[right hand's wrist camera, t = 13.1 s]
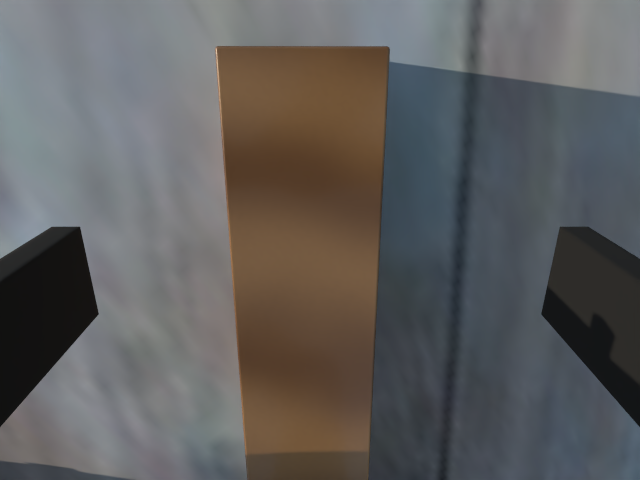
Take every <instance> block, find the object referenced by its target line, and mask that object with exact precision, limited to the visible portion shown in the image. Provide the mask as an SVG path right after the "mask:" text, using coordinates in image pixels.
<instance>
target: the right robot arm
mask: <svg viewBox="0 0 640 480" xmlns="http://www.w3.org/2000/svg"><path fill="white" fill-rule="evenodd" d="M97 315H98V309H97V304H96V300H95V295H94V290H93V286H92V281H91V276H90V272H89V267H88V262H87V257H86V253H85V248H84V243H83V239H82V234H81V229H80V227H51V228H49V229H48V230H46V231H44V232H43V233H41V234H40V235H38V236H36V237H35V238H33V239H32V240H30V241H28V242H27V243H25V244H23V245H22V246H20V247H19V248H17V249H15V250H14V251H12V252H11V253H9V254H7V255H6V256H4V257H3V258H1V259H0V427H1V425H2V424H3V423H4V422H5V421H6V420H7V419H8V417H9V416H10V415H11V414H12V413H13V412H14V411H15V409H16V408H17V407H18V406H19V405H20V404H21V403H22V401H23V400H24V399H25V398H26V397H27V396H28V395H29V393H30V392H31V391H32V390H33V389H34V388H35V387H36V385H37V384H38V383H39V382H40V381H41V380H42V378H43V377H44V376H45V375H46V374H47V373H48V372H49V370H50V369H51V368H52V367H53V366H54V365H55V364H56V362H57V361H58V360H59V359H60V358H61V357H62V356H63V354H64V353H65V352H66V351H67V350H68V349H69V348H70V346H71V345H72V344H73V343H74V342H75V341H76V340H77V338H78V337H79V336H80V335H81V334H82V333H83V332H84V330H85V329H86V328H87V327H88V326H89V325H90V323H91V322H92V321H93V320H94V319H95V318H96V317H97ZM542 315H543V317H544V318H545V319H546V320H547V321H548V322H549V323H550V325H551V326H552V327H553V328H554V329H555V330H556V332H557V333H558V334H559V335H560V336H561V337H562V338H563V340H564V341H565V342H566V343H567V344H568V345H569V346H570V348H571V349H572V350H573V351H574V352H575V353H576V354H577V356H578V357H579V358H580V359H581V360H582V361H583V362H584V364H585V365H586V366H587V367H588V368H589V369H590V370H591V372H592V373H593V374H594V375H595V376H596V377H597V378H598V380H599V381H600V382H601V383H602V384H603V385H604V387H605V388H606V389H607V390H608V391H609V392H610V393H611V395H612V396H613V397H614V398H615V399H616V400H617V401H618V403H619V404H620V405H621V406H622V407H623V408H624V409H625V411H626V412H627V413H628V414H629V415H630V416H631V417H632V419H633V420H634V421H635V422H636V423H637V424H638V425H639V427H640V259H639V258H637V257H636V256H634V255H633V254H631V253H629V252H628V251H626V250H625V249H623V248H621V247H620V246H618V245H617V244H615V243H613V242H612V241H610V240H608V239H607V238H605V237H604V236H602V235H600V234H599V233H597V232H596V231H594V230H592V229H591V228H589V227H560V229H559V234H558V239H557V243H556V248H555V253H554V257H553V262H552V267H551V272H550V276H549V281H548V286H547V290H546V295H545V300H544V304H543V309H542Z"/></svg>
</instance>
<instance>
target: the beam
mask: <svg viewBox="0 0 640 480" xmlns="http://www.w3.org/2000/svg"><path fill="white" fill-rule="evenodd" d="M215 52H216V65H217V79H218V92H219V106H220V119H221V132H222V146H223V159H224V173H225V186H226V199H227V213H228V226H229V240H230V253H231V266H232V280H233V293H234V307H235V320H236V334H237V347H238V360H239V374H240V387H241V401H242V414H243V427H244V441H245V454H246V468H247V480H368V475H369V455H370V435H371V415H372V395H373V375H374V355H375V335H376V315H377V295H378V275H379V255H380V235H381V215H382V195H383V175H384V155H385V135H386V115H387V95H388V74H389V54H390V49H389V47H387V46H217V47H216V49H215Z"/></svg>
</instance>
